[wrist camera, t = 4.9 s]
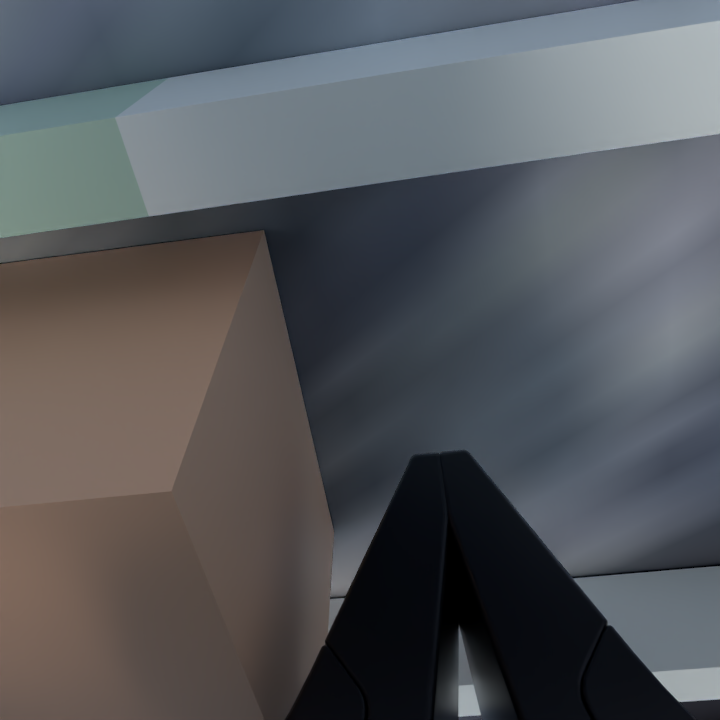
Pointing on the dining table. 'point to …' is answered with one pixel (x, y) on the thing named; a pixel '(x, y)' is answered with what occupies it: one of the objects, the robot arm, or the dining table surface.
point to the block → (156, 488)
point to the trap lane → (399, 178)
